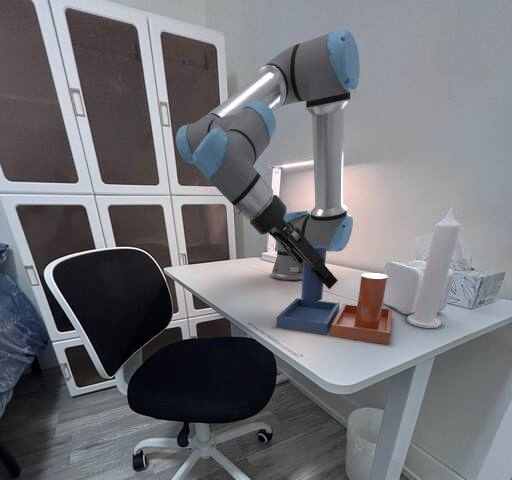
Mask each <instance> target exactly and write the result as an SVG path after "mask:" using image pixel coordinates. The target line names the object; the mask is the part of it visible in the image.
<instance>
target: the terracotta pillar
mask: <svg viewBox="0 0 512 480" xmlns="http://www.w3.org/2000/svg"><path fill="white" fill-rule="evenodd" d="M387 278H388V276H386V275H383V273H377V272H376V273H375V272H366V273H365V272H364V273H362V274H361V276H360V283H359V291H358V296H357V303H356V305H357V310H356V317H355V324H354V327H361V328H368V329H375V330H378V327H379V322H380V316H381V311H382V308H383V304H384V302H383V300H384V294H385V289H386V283H387Z"/></svg>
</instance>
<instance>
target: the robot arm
mask: <svg viewBox="0 0 512 480" xmlns="http://www.w3.org/2000/svg"><path fill="white" fill-rule="evenodd" d="M360 67H361V66H360V54H359V49H358V44H357V42H356V38H355V36H354V34H353V33H352V32H351V31H350V30H348V29H342V30H336V31H330V32H328V33H326V34H323V35H320V36H317V37H315V38H312V39H309V40H306V41H304V42H301V43H297V44H294V45H291V46H289V47H288V48H286V49H284V50H283V51H281V52H280V53H279V54H277V55H276V56H275V57H273V58H272V59H271V60H269V61H268V62H267V63H266V64H264V65H263V66H262V67H260V68H259V69H258V70H257V73H256V74H255V77H254V78H253V80H251V81H250V82H248V83H247V84H246V85H244V86H243V87H241V88H240V89H239V90H238V91H236V92H235V93H234V94H233V95H231V96H229V98H227V99H226V100H224V101H223V102H222V103H220V104H219V105H218V106H217V107H215V108H214V109H212V110H211V111H210V112H208V113H207V114H206V115H204V116H203V117H201V118H200V119H199V120H197V121H195V122H188V123H187V124H185V125H182V126H180V127H179V128H178V130H177V132H176V136H175V144H176V145H175V146H176V149H177V151H178V154H179V156H180V157H181V159H182V160H183V161H184V162H186V163H187V164H190V165H195V166H196V167H197V168H198V170H199V171H200V172H201V174H203V176H204V177H205V178H206V180H208V181H209V182H210V183H211V184H212V185H213V186H214V187H215V188H216V190H217V191H219V192H220V193H221V194H222V195H223V197H225V198H226V199H227V201H228V202H230V204H231V205H233V207H234V208H237V209H236V211H235V213H236V214H237V215H239V216H240V215H242V216H243V217H244V219H246V220H248V221H249V224H250V225H251V226H252V227H253V228H254V230H256V231H257V233H258V234H259V235H263V236H264V235H266V234H268V235H269V236H271V237H272V238H273V239H274V240H275V241H276V252H277V253H276V258H275V260H274V264H273V268H272V271H271V276H272V278H274V279H276V280H281V281H302V277H303V260H304V261H305V262H306V263H307V264H308V265H309V266H310V267H311V268H312V269H311V270H310V272H311V273H313V272H314V273H315V274H316V276H317V277H318V278H319V279H320V280H321V281H322V282H323V283H324V284H323V285H324V286H325V287H326V288H327V289H328V290H331V289H332V288H333V286H335V284H336V283H337V282H338V280H339V279H338V278H337V277H336V276H335V275H334V274H333V273H332V272H331V270H330V269H329V268H328V267H327V266H326V264H325V265H324V264H323V263H324V262H325V263H326V261H325V260H324V259H323V258H322V257H321V256H320V255H319V253H318V252H317V251H316V250H315V249H314V247H313V246H312V245H320V246H326V247H327V250H326V252H328V253H331V252H332V253H333V252H334V253H335V252H342V251H343V250H344V249H345V248H346V247H347V245H348V244H349V241H350V238H351V236H352V232H353V228H354V218H353V216H352V215H350V214H348V207H347V206H346V205H345V204H344V203H343V190H344V189H343V187H344V186H343V184H344V183H343V182H344V133H345V130H344V129H345V109H346V107H347V106H348V105H349V103H350V102H351V93H352V92H354V91H355V90H356V89H357V87H358V86H359V79H360V71H361V69H360ZM301 102H305V107H306V108H305V109H306V111H307V112H308V113H309V114H310V115H311V122H312V126H311V127H312V153H313V155H312V156H313V181H314V182H313V183H314V207H313V208H312V209H311V210H300V211H294V212H287V211H288V209H287V205H286V204H285V203H284V202H283V201H282V200H281V198H280V197H279V196H278V195H277V194H274V190H273V188H272V187H271V185H270V184H269V183H268V182H267V181H266V180H265V179H264V178H263V176H262V175H261V174H260V173H259V172H258V170H257V169H256V168H255V167H254V166H255V164H256V162H257V160H259V158H260V157H261V155H262V154H263V153H264V151H265V150H266V149H267V148H268V147H269V145H270V142H271V141H272V139H273V137H274V135H275V133H276V131H277V130H276V129H277V121H276V116H275V114H274V112H275V111H278V110H279V109H280V108H281V107H284V106H286V105H291V104H295V103H301Z"/></svg>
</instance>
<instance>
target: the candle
mask: <svg viewBox="0 0 512 480" xmlns="http://www.w3.org/2000/svg"><path fill="white" fill-rule="evenodd" d="M454 211H455V207H454V206H451V207H450V208H449V210H448V212H447V214H446V215H445V217H444V218H443V219H441V221H438V222H437V223H436V224H435V225H434V229H433V233H432V237H431V241H430V244H429V245H430V246H429V251H428V254H427V258H426V261H425V262H426V266H425V271H424V275H423V279H422V283H421V288H420V292H419V296H418V300H417V305H416V309H415V312H414V313H413V314H411V315H408V316H407V318H406V321H407V323H408V324H410V325H411V326H415V327H417V328H424V329H436V328H439V327H441V325H442V321H441V320H440V319H439V318H437V315H438V312H439V311H438V308H439V304H440V300H441V297H442V293H443V289H444V286H445V282H446V278H447V275H448V271H449V268H451V263H452V259H453V256H454V252H455V248H456V244H457V242H458V238H459V233H460V229H461V224H460V223H459V222H458V221H457V220H456V219H455V216H454V215H455V214H454V213H455V212H454Z"/></svg>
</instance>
